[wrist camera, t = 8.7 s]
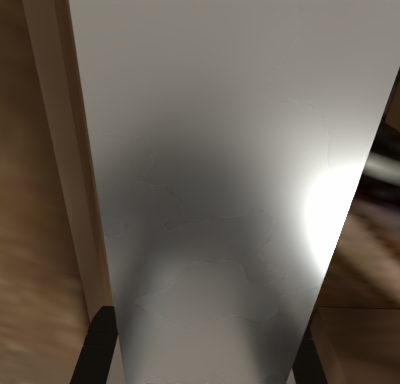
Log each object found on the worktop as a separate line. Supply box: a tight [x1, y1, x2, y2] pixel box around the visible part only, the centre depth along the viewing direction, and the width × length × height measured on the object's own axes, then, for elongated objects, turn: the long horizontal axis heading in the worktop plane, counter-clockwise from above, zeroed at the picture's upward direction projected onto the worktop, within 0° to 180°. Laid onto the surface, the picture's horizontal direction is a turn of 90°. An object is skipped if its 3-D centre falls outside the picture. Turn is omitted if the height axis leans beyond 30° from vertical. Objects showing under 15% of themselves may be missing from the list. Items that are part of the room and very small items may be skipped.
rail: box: [69, 0, 400, 384], centre depth 10 cm, size 4×24×4 cm, turn 177°
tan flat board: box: [22, 0, 114, 323], centre depth 16 cm, size 12×28×1 cm, turn 177°
